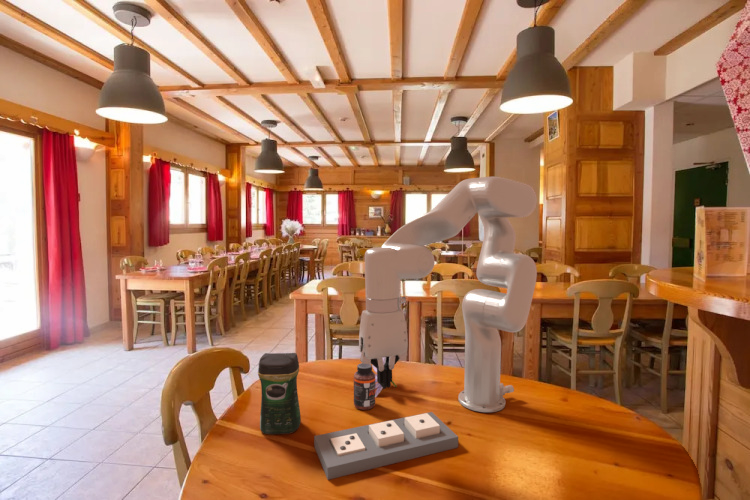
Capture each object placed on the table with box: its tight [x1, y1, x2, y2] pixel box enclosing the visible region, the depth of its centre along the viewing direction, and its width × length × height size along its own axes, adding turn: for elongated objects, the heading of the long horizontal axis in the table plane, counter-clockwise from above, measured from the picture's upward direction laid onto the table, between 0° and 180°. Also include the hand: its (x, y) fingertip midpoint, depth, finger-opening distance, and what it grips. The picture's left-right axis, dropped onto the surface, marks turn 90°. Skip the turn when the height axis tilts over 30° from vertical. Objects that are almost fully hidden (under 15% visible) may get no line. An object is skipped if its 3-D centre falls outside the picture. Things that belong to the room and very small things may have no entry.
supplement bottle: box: [353, 362, 376, 411], centre depth 107 cm, size 6×6×11 cm
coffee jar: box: [257, 352, 302, 435], centre depth 96 cm, size 10×8×19 cm
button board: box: [313, 411, 459, 481], centre depth 88 cm, size 30×12×2 cm, turn 111°
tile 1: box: [405, 412, 440, 439], centre depth 91 cm, size 6×6×3 cm
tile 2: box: [368, 419, 404, 447], centre depth 88 cm, size 6×6×3 cm
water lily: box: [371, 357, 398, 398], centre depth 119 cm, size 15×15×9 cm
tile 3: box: [331, 433, 365, 457], centre depth 85 cm, size 6×6×3 cm
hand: (384, 385), depth 87 cm, fingers closed
